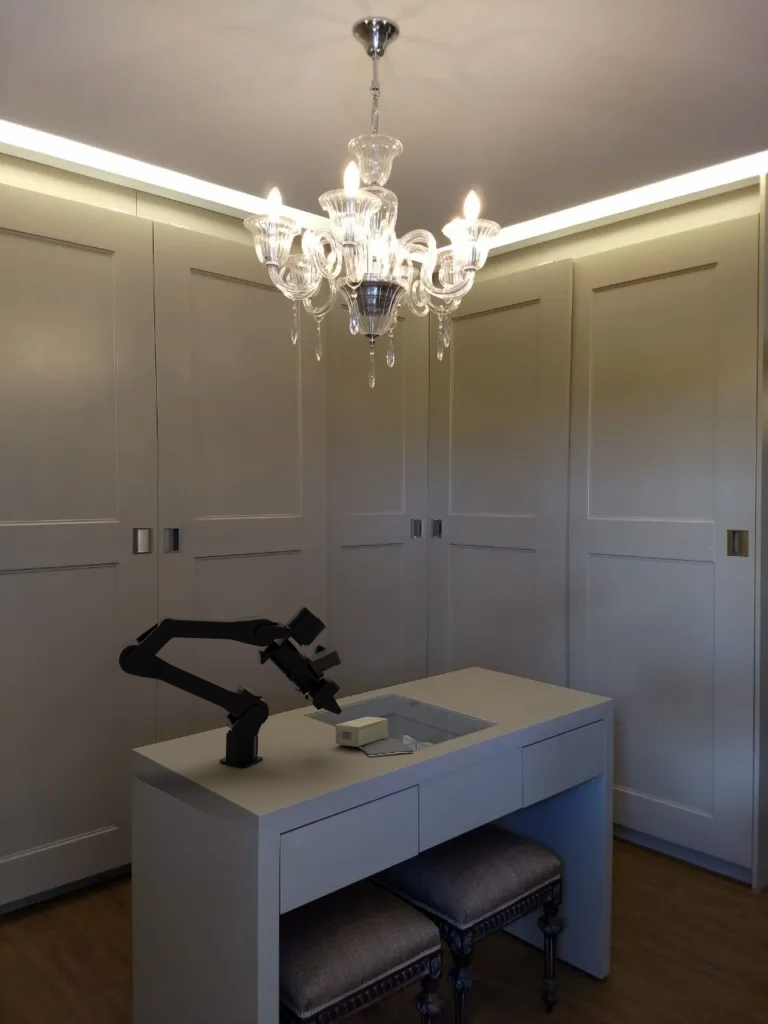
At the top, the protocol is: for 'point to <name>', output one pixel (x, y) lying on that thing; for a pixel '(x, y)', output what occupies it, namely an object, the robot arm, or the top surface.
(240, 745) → the robot arm
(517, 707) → the top surface
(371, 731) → the skincare box
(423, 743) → the top surface
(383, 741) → the rubber mat
